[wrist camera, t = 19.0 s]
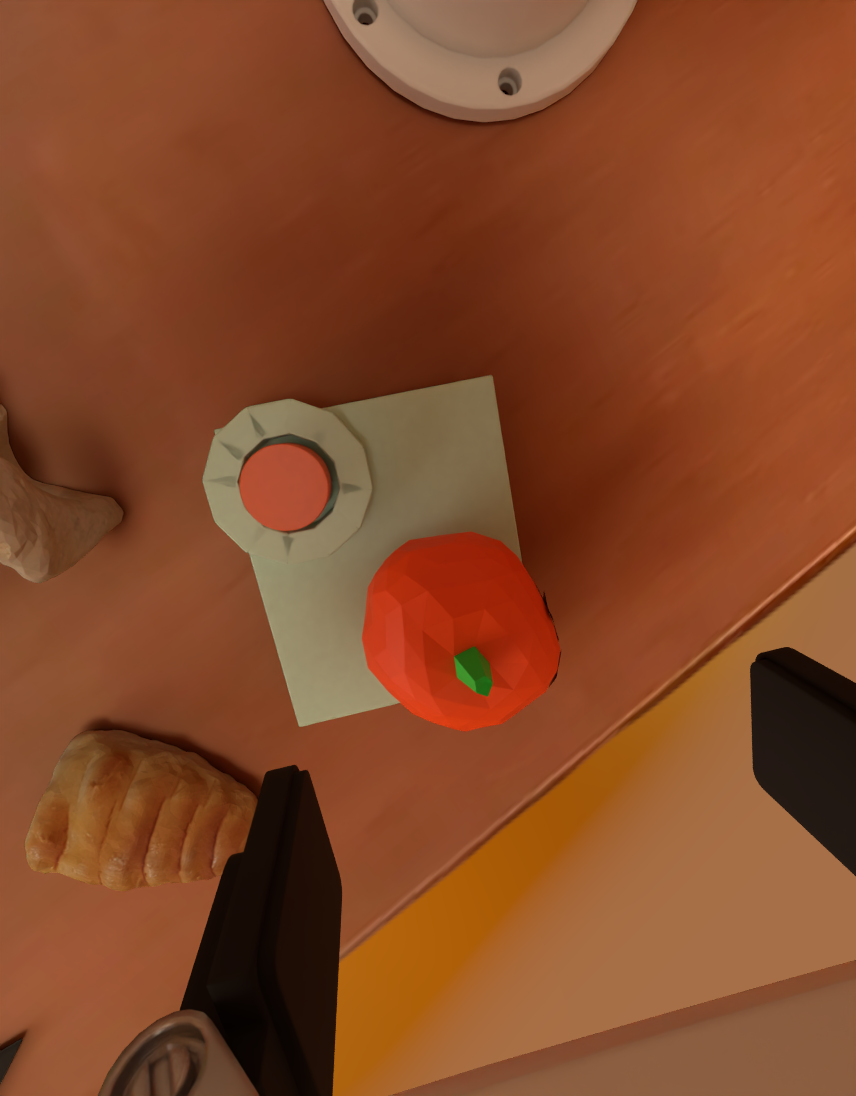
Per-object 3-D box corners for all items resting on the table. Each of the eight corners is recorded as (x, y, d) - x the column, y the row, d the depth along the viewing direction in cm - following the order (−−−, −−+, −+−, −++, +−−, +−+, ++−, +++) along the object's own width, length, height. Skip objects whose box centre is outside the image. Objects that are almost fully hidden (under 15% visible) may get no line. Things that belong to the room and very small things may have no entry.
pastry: (285, 757, 25) (271, 814, 21) (250, 872, 26) (231, 945, 23) (79, 713, 23) (25, 767, 20) (51, 838, 25) (-4, 910, 21)
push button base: (211, 420, 21) (183, 418, 18) (480, 368, 22) (501, 356, 19) (294, 708, 25) (282, 752, 21) (526, 653, 25) (552, 687, 22)
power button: (238, 451, 19) (228, 453, 17) (321, 435, 19) (317, 435, 18) (261, 531, 20) (252, 539, 18) (339, 514, 20) (338, 521, 18)
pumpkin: (456, 483, 21) (494, 504, 15) (564, 623, 23) (637, 694, 17) (321, 591, 22) (303, 656, 15) (438, 721, 24) (464, 825, 17)
